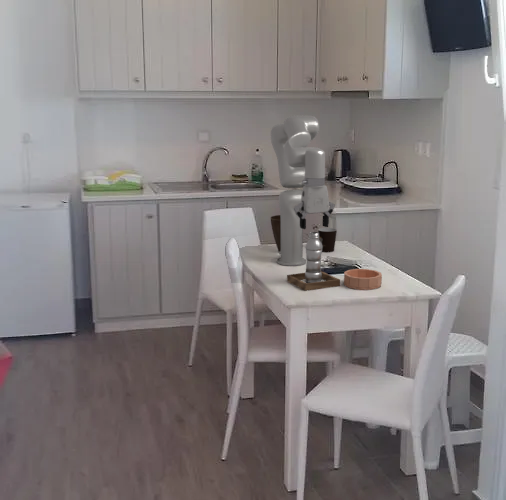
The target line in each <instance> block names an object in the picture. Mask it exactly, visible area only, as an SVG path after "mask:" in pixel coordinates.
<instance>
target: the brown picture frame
mask: <svg viewBox="0 0 506 500" xmlns="http://www.w3.org/2000/svg"><path fill="white" fill-rule="evenodd" d="M321 273H322V280H321V282H314V283H306V281H305V272H301V273H292V274H286V282H288V283H290V284H292V285H293V286H296V287H297V288H300V289H301V290H303V291H305V292H307V290H308V291H313V290H315V291H316V290H321V289H329V288H335V287H341V279H339V278H338V277H336V276H333V275H331V274H328V273H327V272H325V271H322V270H321ZM303 280H304V281H303Z"/></svg>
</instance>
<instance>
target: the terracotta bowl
mask: <svg viewBox="0 0 506 500" xmlns="http://www.w3.org/2000/svg"><path fill="white" fill-rule="evenodd" d="M343 272H344V273H343V285H344V286H345V287H346V288H349V289H352V290H357V291H358V290H359V291H371V290H377V289H379V288H381V287H382V280H383V279H382V278H383V275H382V272H380V271H378V270H375V269H368V268H354V269H348V270H346V271H343Z"/></svg>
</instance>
